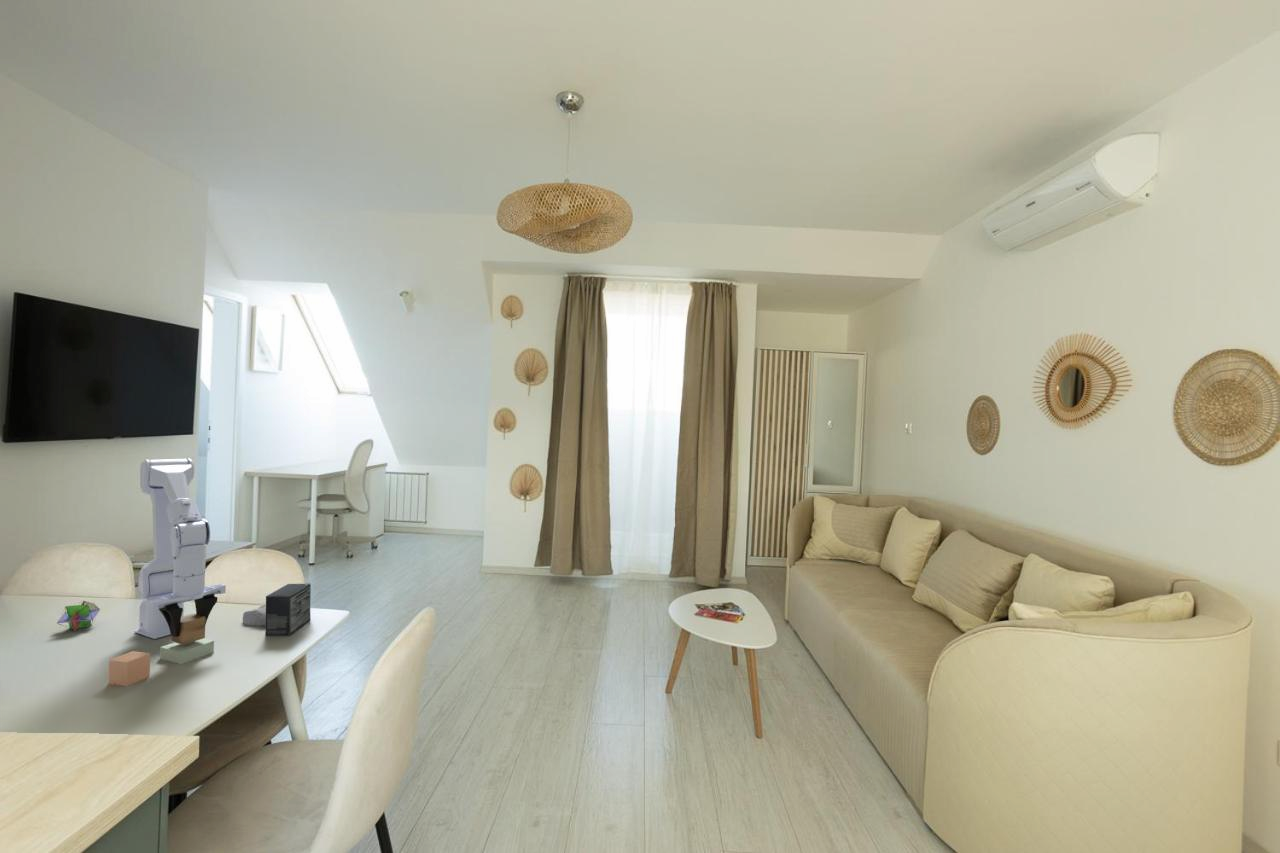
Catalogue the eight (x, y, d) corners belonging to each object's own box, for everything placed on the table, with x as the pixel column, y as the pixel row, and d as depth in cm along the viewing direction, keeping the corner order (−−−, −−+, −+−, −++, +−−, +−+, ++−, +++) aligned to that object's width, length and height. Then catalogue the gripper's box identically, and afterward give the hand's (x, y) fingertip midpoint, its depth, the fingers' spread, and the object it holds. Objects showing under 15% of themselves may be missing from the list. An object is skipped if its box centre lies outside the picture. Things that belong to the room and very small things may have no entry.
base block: (160, 660, 125) (160, 647, 125) (193, 648, 132) (194, 635, 132) (180, 665, 123) (180, 652, 123) (213, 653, 130) (213, 640, 130)
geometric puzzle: (86, 625, 137) (96, 594, 141) (49, 629, 134) (60, 597, 138) (97, 634, 142) (106, 604, 146) (61, 638, 139) (71, 606, 143)
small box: (286, 620, 150) (287, 582, 150) (311, 621, 151) (312, 583, 150) (263, 636, 140) (264, 595, 139) (290, 636, 140) (291, 595, 140)
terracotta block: (108, 684, 113) (109, 660, 113) (131, 674, 118) (132, 651, 118) (126, 686, 113) (127, 662, 113) (149, 676, 117) (150, 653, 117)
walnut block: (170, 641, 126) (171, 619, 126) (193, 634, 130) (193, 613, 130) (182, 644, 124) (183, 622, 124) (204, 637, 129) (205, 616, 129)
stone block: (238, 631, 147) (269, 627, 145) (236, 612, 147) (267, 609, 145) (275, 617, 159) (305, 613, 157) (273, 600, 159) (303, 596, 157)
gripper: (161, 584, 119) (159, 646, 119) (233, 568, 132) (232, 624, 132) (143, 579, 122) (142, 640, 122) (216, 564, 135) (214, 619, 135)
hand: (187, 632), depth 127 cm, fingers closed on walnut block, 4 cm apart
